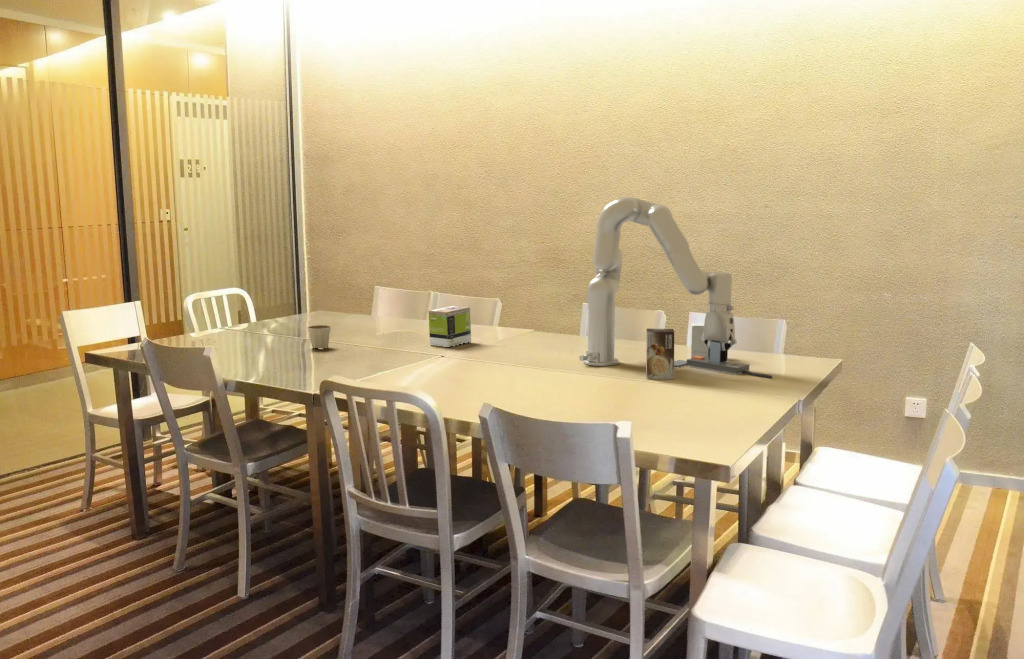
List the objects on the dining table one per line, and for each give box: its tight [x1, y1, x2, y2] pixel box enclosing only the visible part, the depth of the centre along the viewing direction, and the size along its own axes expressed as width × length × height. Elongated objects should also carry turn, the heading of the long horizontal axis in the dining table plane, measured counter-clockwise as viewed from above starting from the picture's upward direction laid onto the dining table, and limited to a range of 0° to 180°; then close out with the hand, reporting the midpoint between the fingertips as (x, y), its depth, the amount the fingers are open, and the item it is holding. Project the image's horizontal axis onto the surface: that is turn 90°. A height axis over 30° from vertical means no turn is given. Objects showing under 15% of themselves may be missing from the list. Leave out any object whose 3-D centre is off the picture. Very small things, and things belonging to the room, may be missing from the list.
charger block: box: [709, 341, 726, 364], centre depth 293 cm, size 4×4×8 cm
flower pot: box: [306, 324, 332, 349], centre depth 334 cm, size 9×9×9 cm
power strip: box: [686, 356, 773, 379], centre depth 289 cm, size 8×31×3 cm, turn 43°
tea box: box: [428, 305, 472, 348], centre depth 341 cm, size 15×10×15 cm, turn 144°
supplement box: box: [690, 322, 709, 359], centre depth 311 cm, size 7×7×13 cm
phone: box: [674, 359, 687, 368], centre depth 301 cm, size 10×6×1 cm, turn 135°
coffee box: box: [645, 328, 675, 380], centre depth 279 cm, size 9×6×16 cm
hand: (717, 359), depth 293 cm, fingers closed on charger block, 4 cm apart
